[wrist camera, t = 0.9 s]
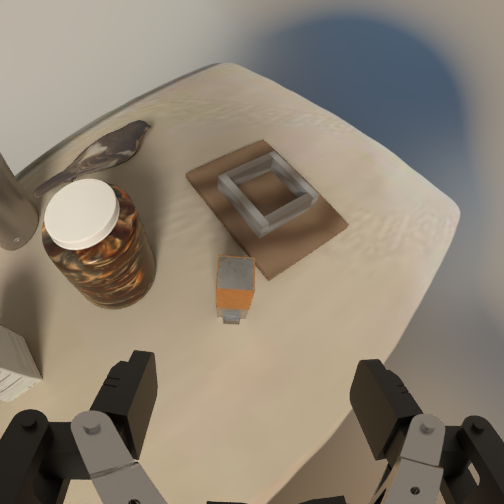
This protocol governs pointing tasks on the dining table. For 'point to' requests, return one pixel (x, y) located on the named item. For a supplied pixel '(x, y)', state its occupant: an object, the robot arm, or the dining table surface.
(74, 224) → the jar
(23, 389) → the supplement box
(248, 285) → the orange rectangular block
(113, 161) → the decorative bird
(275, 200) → the socket board
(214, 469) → the dining table surface
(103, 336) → the dining table surface
